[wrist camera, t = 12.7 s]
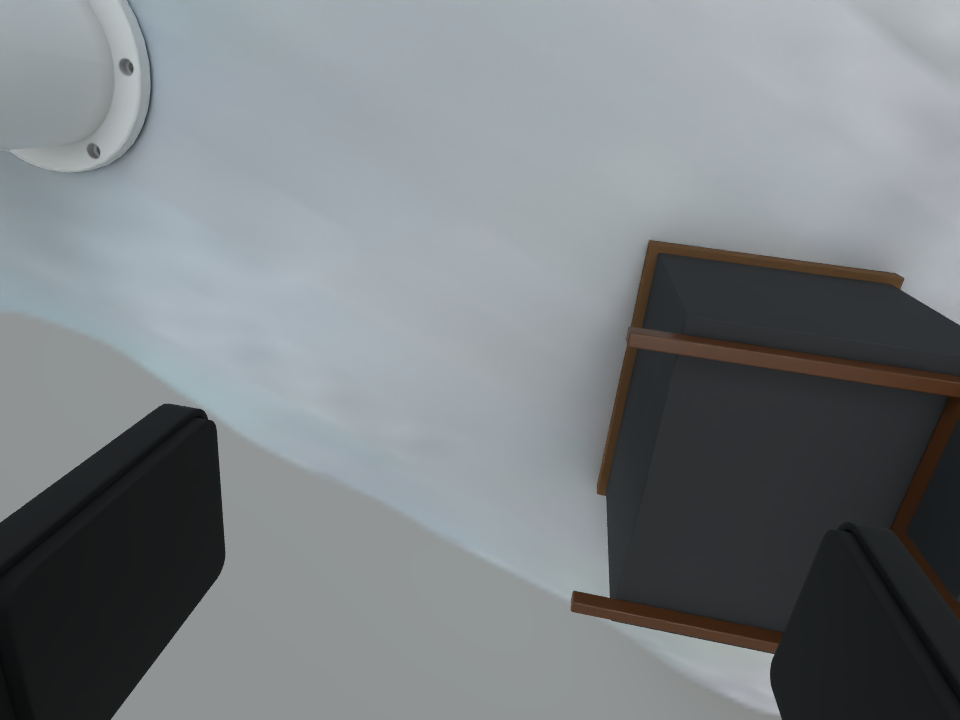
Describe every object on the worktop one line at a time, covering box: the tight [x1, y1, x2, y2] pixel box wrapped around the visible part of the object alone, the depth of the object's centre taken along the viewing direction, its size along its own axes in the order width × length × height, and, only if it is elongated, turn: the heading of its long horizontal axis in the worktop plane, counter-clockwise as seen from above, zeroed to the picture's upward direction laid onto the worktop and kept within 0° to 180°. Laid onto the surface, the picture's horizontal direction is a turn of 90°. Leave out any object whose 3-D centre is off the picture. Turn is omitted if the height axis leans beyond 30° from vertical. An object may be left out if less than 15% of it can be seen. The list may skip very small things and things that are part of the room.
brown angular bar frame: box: [571, 327, 960, 653], centre depth 24 cm, size 13×14×5 cm
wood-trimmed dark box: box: [597, 240, 960, 654], centre depth 31 cm, size 14×16×12 cm
